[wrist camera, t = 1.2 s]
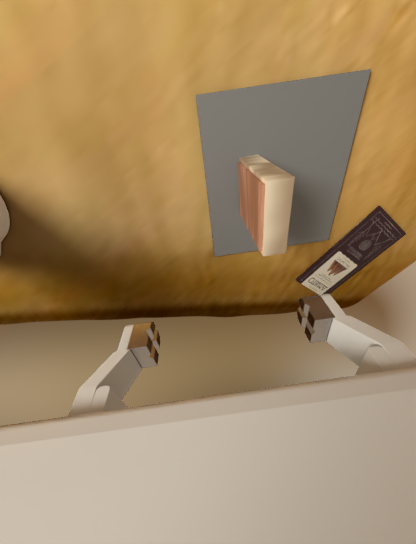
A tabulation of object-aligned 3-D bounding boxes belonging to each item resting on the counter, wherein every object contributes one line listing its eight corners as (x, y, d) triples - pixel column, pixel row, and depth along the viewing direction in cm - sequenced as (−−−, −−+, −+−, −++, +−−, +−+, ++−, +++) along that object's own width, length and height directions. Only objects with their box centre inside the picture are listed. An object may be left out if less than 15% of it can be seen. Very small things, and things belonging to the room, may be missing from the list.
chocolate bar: (406, 233, 38) (324, 297, 47) (401, 231, 39) (321, 294, 47) (380, 206, 35) (296, 281, 43) (376, 204, 36) (294, 278, 44)
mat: (214, 254, 38) (215, 256, 38) (195, 95, 25) (196, 95, 24) (326, 238, 38) (328, 239, 38) (367, 69, 25) (371, 69, 24)
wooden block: (238, 214, 33) (260, 256, 24) (237, 157, 29) (263, 181, 19) (256, 212, 33) (285, 253, 24) (258, 154, 29) (294, 176, 19)
